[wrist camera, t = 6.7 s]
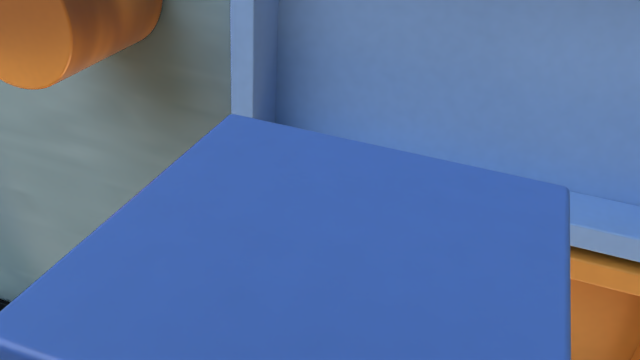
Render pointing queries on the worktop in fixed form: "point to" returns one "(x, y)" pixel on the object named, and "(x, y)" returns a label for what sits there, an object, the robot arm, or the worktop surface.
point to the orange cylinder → (67, 36)
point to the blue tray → (463, 89)
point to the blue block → (309, 260)
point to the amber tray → (604, 306)
